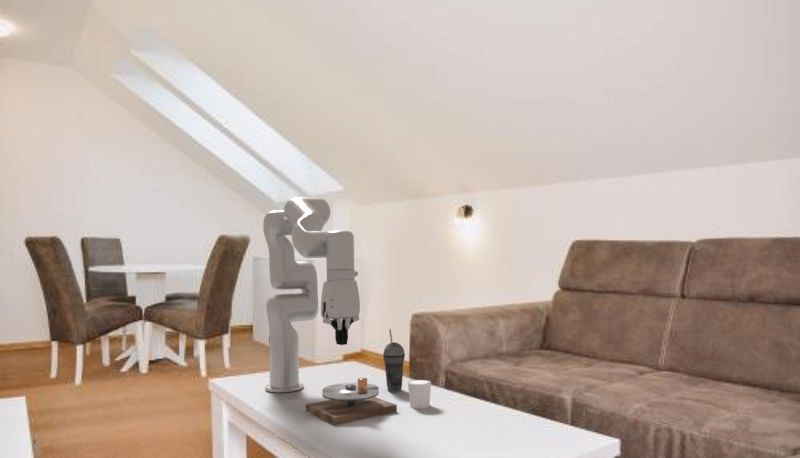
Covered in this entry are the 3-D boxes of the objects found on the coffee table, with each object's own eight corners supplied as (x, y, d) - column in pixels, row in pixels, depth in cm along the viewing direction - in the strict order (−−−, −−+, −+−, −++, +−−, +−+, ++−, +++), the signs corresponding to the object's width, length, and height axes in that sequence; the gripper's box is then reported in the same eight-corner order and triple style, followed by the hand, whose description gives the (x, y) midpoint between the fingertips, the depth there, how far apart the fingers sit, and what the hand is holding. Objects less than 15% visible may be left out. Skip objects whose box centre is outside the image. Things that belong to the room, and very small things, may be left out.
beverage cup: (403, 393, 184) (402, 330, 185) (381, 392, 185) (380, 330, 186) (407, 388, 191) (406, 327, 192) (386, 387, 193) (385, 327, 193)
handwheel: (312, 393, 166) (312, 374, 166) (359, 384, 176) (359, 366, 176) (340, 404, 153) (339, 384, 153) (389, 394, 163) (389, 375, 163)
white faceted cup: (435, 404, 171) (434, 380, 171) (426, 410, 165) (425, 385, 165) (413, 401, 174) (413, 378, 174) (404, 407, 168) (403, 383, 168)
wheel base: (305, 411, 165) (305, 394, 165) (364, 400, 177) (364, 384, 177) (334, 425, 151) (334, 407, 152) (396, 411, 163) (396, 395, 163)
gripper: (356, 274, 164) (358, 339, 163) (309, 277, 155) (310, 345, 154) (371, 275, 158) (372, 342, 157) (322, 277, 149) (323, 349, 148)
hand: (341, 344), depth 156 cm, fingers closed
